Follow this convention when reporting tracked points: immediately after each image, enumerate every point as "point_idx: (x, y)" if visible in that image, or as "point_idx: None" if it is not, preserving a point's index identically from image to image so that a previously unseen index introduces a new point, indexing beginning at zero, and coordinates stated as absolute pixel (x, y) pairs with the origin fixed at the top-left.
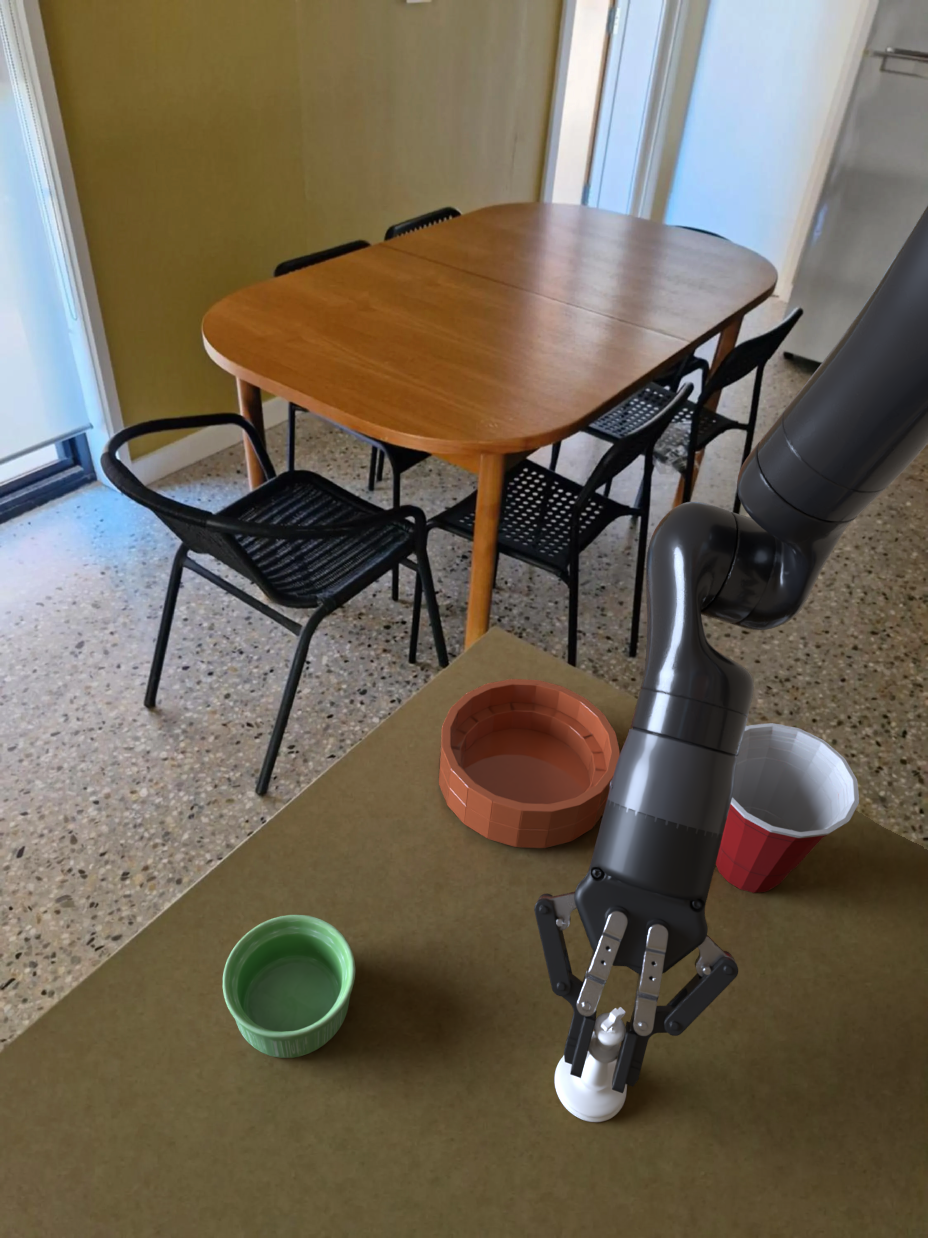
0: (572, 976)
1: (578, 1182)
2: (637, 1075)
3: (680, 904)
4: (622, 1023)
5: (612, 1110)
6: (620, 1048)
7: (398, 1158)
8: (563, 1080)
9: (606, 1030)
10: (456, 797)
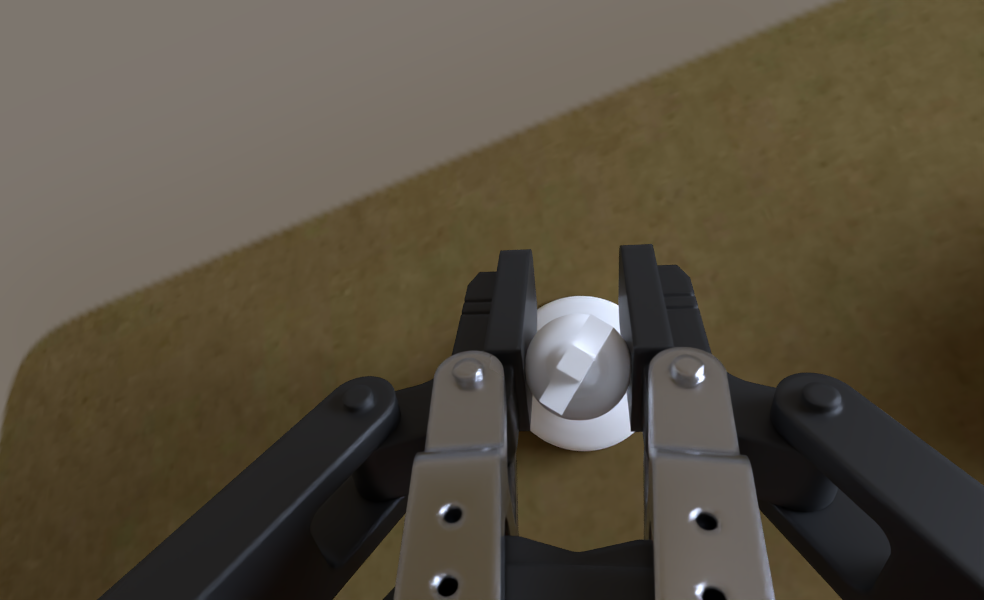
0: (775, 482)
1: (559, 189)
2: (471, 292)
3: None
4: (541, 394)
5: None
6: None
7: (915, 90)
8: None
9: (590, 314)
10: None
